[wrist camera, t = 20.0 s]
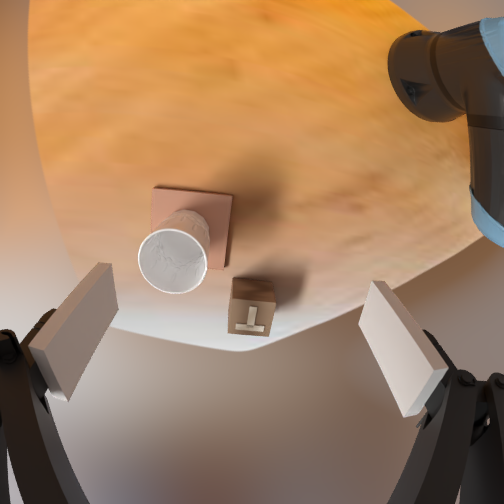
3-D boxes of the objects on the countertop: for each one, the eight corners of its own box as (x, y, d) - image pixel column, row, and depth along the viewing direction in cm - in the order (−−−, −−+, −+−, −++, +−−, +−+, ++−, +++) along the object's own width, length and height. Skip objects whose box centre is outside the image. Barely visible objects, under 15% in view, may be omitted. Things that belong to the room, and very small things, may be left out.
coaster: (232, 195, 40) (232, 196, 39) (223, 268, 44) (223, 270, 43) (154, 187, 39) (152, 188, 38) (151, 259, 43) (150, 261, 42)
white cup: (185, 268, 43) (172, 305, 33) (148, 229, 40) (124, 258, 31) (225, 235, 41) (222, 267, 32) (187, 193, 38) (172, 213, 29)
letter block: (273, 281, 45) (278, 303, 40) (266, 313, 48) (270, 337, 42) (232, 277, 45) (232, 299, 39) (228, 310, 47) (227, 334, 41)
